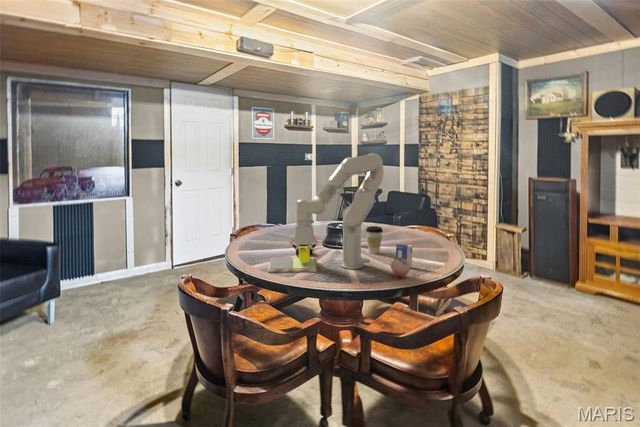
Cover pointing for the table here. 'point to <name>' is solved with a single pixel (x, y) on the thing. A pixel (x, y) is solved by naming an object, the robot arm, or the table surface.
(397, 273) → the decorative fruit
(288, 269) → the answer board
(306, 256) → the yellow toy chassis
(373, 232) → the coffee cup
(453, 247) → the table surface
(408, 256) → the blue and white carton
